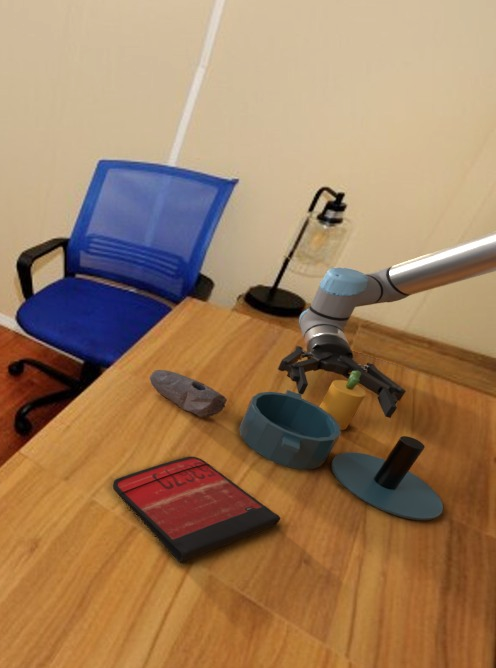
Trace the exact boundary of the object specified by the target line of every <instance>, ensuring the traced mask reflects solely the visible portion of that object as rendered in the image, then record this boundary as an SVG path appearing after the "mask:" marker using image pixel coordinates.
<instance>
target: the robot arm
mask: <svg viewBox="0 0 496 668" xmlns="http://www.w3.org/2000/svg"><path fill="white" fill-rule="evenodd" d="M495 272H496V230H494V231H491V232H489V233H486V234H482V235H479V236H476V237H474V238H473V237H472V238H471V239H468V240H465V241H462V242H459V243H456V244H453V245H450V246H447V247H445V248H441V249H439V250H436V251H432V252H430V253H427V254H424V255H421V256H418V257H415V258H413V259H409V260H407V261H403V262H400V263H397V264H394V265H392V266H389V267H388V266H387V267H386V268H383V269H379V270H377V271H374V272H370V273H363V272H361V271H359V270H357V269H353V268H348V267H331V268H330V269H328V270H327V271H326V272H325V274H324V276H323V278H322V279H321V280H320V282H319V285H318V288H317V290H316V291H315V294H314V297H313V299H312V301H311V304H310V306H309V307H308V308H307V309H305V310H304V311H302V312H301V314H300V315H299V319H298V320H299V322H298V325H299V330H300V332H301V335H302V338H303V341H304V345H305V349H306V350H304V349H303V347H302V346H299V345H296V346H295V348H294V350H293V351H292V352H291V353H290V354H288V355H286V356H285V357H284V358H282V359H281V361H280V363H279V365H278V367H277V370H278V371H280V372H287V374H286V377H287V378H289V379H290V381H292V382H295V385H296V389H297V393H298V394H301V395H304V393H305V392H306V390H307V387H308V386H309V383H308V379H307V375H306V373H307V372H312V371H313V372H316V371H320V370H322V371H325V372H329V373H334V374H337V375H340V376H342V377H344V378H346V379H347V380H348V379H349V377H350V374H351V372H352V371H359V372H360V373H361V376H360V378H359V380H360V381H359V382H358V383H357V384H359V385H360V386H363V387H364V388H366V390H367V389H368V390H369V391H370V392H372V393H373V394H376V395H377V401H378V404H379V406H380V408H381V410H382V412H383V415H384V417H385V418H388V419H391V418H392V417H393V415H394V414H395V411H396V410H397V408H398V407H397V403H398V402H401V400H402V398H403V396H404V395H405V393H406V390H405V389H404V388H403V387H402V386H400V385H399V384H398V383H396V382H395V381H394V380H392V379H391V378H390V377H388V376H387V375H386V374H385V373H383V372H382V371H380V370H379V369H378V368H377V367H376V365H375V363H371V362H367V363H366V364H360V363H359V362H357V361H356V360H355V359H354V354H353V351H352V349H351V345H350V343H349V340H348V338H347V336H346V334H345V331H344V330H345V327H346V325H347V323H348V321H349V320H350V318H351V316H352V314H353V312H354V311H355V308H358V307H359V308H360V307H364V306H371V305H377V304H384V303H394V302H397V301H398V302H399V301H402V300H404V299H406V298H408V297H409V296H412V295H417V294H420V293H423V292H427V291H430V290H434V289H437V288H441V287H445V286H448V285H451V284H454V283H458V282H462V281H466V280H468V279H469V280H470V279H473V278H476V277H477V278H478V277H480V276H483V275H486V274H491V273H495ZM305 358H307V359H305ZM302 359H304V360H302Z"/></svg>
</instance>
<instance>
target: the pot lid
mask: <svg viewBox="0 0 496 668" xmlns="http://www.w3.org/2000/svg"><path fill="white" fill-rule="evenodd" d="M425 447H426V446H425V444H424V443H423V442H421V441H420V440H419V439H417V438H414V437H412V436H407V435H403V436H400V437H399V439H398V440H397V442H396V443H395V445H394V446H393V448H391V449H392V450H391V451H390V453H389V454H388V456H386V459H384V458H381V457H377V456H375V455H370V454H367V453H361V452H352V451H351V452H341V453H339V454H337V455H335V456H334V457H333V459H332V460H331V464H330V465H331V471H332V473H333V475H334V476H335V478H336V479H337V480H338V481H339V482H340V483H341V485H342V486H343V487H345V489H347V490H348V491H349V492H351V493H352V494H353V495H355V496H356V497H357V498H358V499H360V500H362V501H363V502H366V503H367V504H369V505H371V506H373V507H375V508H377V509H379V510H381V511H383V512H386V513H388V514H391V515H393V516H397V517H400V518H404V519H409V520H415V521H431V520H435V519H437V518H439V517H440V516H441V515H442V513H443V510H444V505H443V501H442V499H441V498H440V495H438V493H437V492H436V491H435V490H434V489H433V487H431V486H430V485H429V484H428V483H427V482H425V481H424V480H423V479H421V478H420V477H419V476H418V475H416V474H415V473H412V472H411V471H410V469H411V468H412V467H413V466H414V464H415V463H416V461H417V459H418V458H419V456H420V455H421V454H422V453H423V451H424V449H425Z"/></svg>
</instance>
